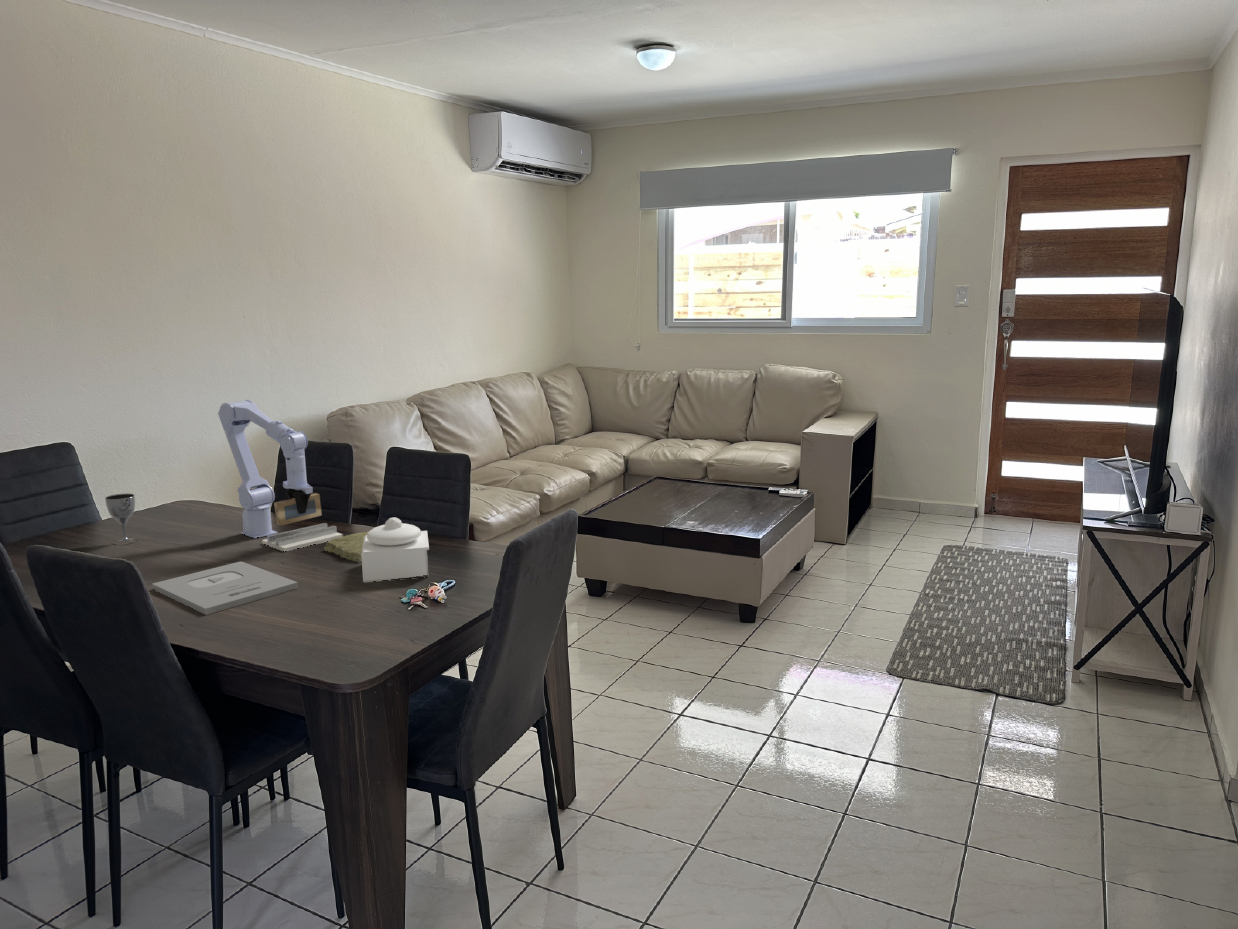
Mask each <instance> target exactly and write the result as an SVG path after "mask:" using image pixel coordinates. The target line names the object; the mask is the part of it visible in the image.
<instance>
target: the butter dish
mask: <svg viewBox="0 0 1238 929" xmlns="http://www.w3.org/2000/svg"><path fill="white" fill-rule="evenodd" d="M368 531H369V532H368V533H367V535H366V537H364V542H363V548H362V554H361V557H362V563H361V566H362V567H361V568H362V570H361V572H362V583H363V582H364V583H374V582H373V581H376V582H383V581H382V580H388V581H392V580H391V579H398V578H409V577H416V576H423V575H428V576H429V560H428V551H429V550H430V546H429V545H430V544H429V537H428V530H421V529H420V528H419V527H418V526H416V525H414V524H411V523H410V524H409V523H403V522H402V520H401V519H400V518H398V517H389V518H388V519H387V520H386V521H385V523H384V524H381V525H378V526H375V527H373V528H372V529H370V530H368Z"/></svg>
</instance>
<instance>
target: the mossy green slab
mask: <svg viewBox="0 0 1238 929" xmlns="http://www.w3.org/2000/svg"><path fill="white" fill-rule="evenodd" d="M369 531H370V530H368V531H365V532H356V533H351V534H348V535H343V537H340V538H335V539H333V540H331V541H328V542H325V546H324V547H323V549H324V551H325V552H327V551H328V552H327V553H332V552H333V554H335V555H337V556H339V555H340V556H339V557H340V558H342V559H344V558H346V559H345V560H349V561H353V562H355V561H358V562H357V563H359V562H362V557H361V554H362V548H363V542H364V537H366V535H367V533H368V532H369Z"/></svg>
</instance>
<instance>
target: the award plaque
mask: <svg viewBox="0 0 1238 929" xmlns="http://www.w3.org/2000/svg"><path fill="white" fill-rule="evenodd" d="M151 586H152V587H151V588H152V590H153V589H156V590H157V591H158V592H157V591H156V592H157V593H159V592H161V593H162V594H161V593H160V594H161V595H163V594H164V595H163V596H165V595H166V596H165V597H167V596H168V598H169V597H170V599H171V598H172V600H173V599H175V600H174V601H175V602H177V603H180V602H181V603H180V604H182V603H183V605H185V606H187V607H188V606H189V607H188V608H190V607H191V609H192V608H193V610H195V611H197V612H198V613H201V614H203V615H205V616H209V615H212V614H215V613H218V612H222V611H224V610H225V611H226V610H228V609H232V608H235V607H239V606H242V605H245V604H249V603H252V602H255V601H259V600H262V599H263V600H264V599H265V598H269V597H272V596H275V595H279V594H282V593H287V592H290V591H293V590H296V589H299V584H298V582H297V581H295V580H293V579H290V578H287V577H284V576H282V575H279V574H278V573H277V574H276V573H274V572H271V571H269V570H265V569H263V568H260V567H258V566H255V565H252V564H251V563H247V562H244V561H243V560H242V561H236V562H233V563H227V564H226V565H221V566H217V567H212V568H208V569H204V570H201V571H197V572H193V573H189V574H185V575H182V576H178V577H173V578H170V579H165V580H162V581H156V582H153V583H151Z"/></svg>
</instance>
